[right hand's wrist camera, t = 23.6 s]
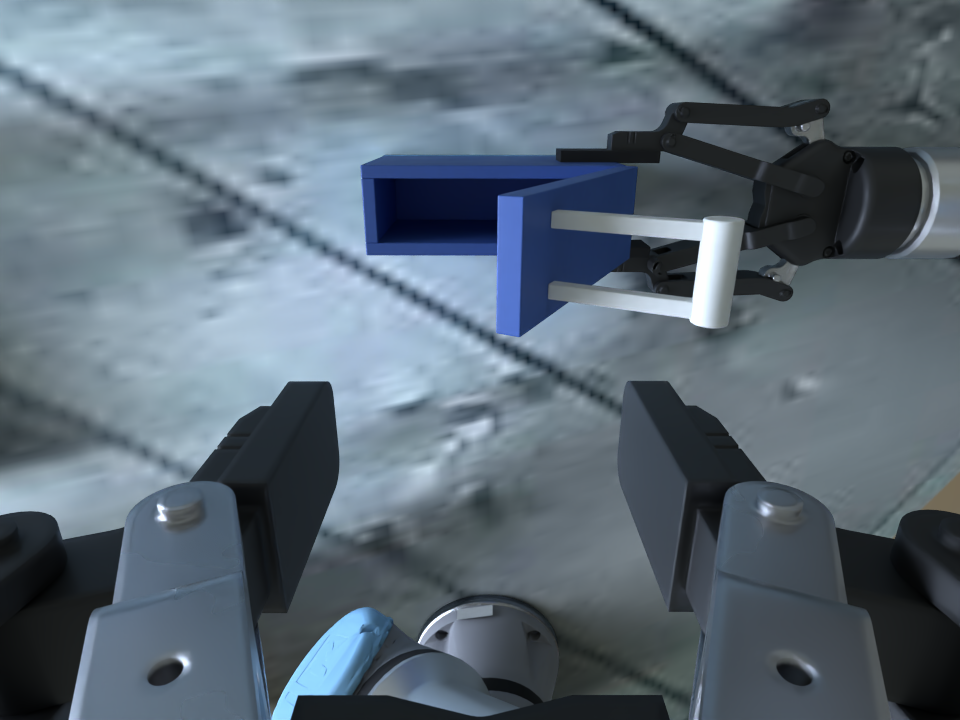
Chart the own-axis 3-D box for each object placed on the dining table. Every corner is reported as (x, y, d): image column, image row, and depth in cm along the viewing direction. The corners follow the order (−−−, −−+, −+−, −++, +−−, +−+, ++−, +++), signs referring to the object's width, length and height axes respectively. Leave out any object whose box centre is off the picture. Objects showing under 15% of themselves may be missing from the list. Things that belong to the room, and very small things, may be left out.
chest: (388, 228, 49) (366, 255, 40) (384, 154, 47) (360, 164, 38) (591, 228, 49) (619, 255, 40) (596, 155, 47) (627, 165, 38)
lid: (495, 333, 25) (713, 371, 22) (497, 194, 23) (738, 209, 20) (612, 256, 39) (757, 271, 36) (620, 165, 37) (774, 171, 33)
